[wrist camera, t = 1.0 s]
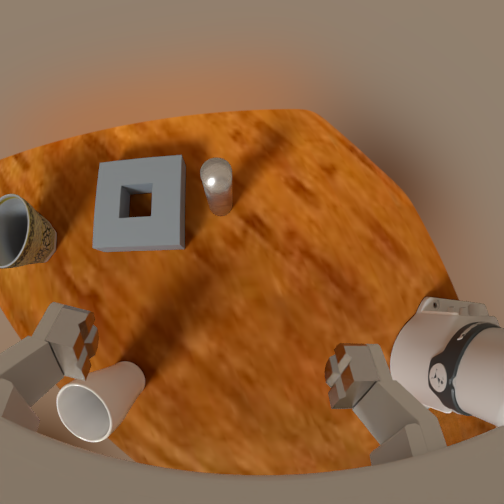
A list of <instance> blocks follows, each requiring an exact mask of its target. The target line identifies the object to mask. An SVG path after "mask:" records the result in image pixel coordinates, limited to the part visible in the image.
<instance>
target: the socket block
mask: <svg viewBox="0 0 504 504" xmlns="http://www.w3.org/2000/svg"><path fill="white" fill-rule="evenodd" d="M185 184H186V165H185V162H184V160H183V157H182V155H173V156H160V157H149V158H138V159H129V160H120V161H112V162H104V163H100V166H99V173H98V182H97V191H96V201H95V214H94V229H93V248H94V249H97V250H100V251H103V252H116V251H145V250H175V249H185ZM143 193H152V207H151V216H147V217H130V218H129V208H130V194H143Z"/></svg>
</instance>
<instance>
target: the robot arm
mask: <svg viewBox="0 0 504 504" xmlns="http://www.w3.org/2000/svg"><path fill="white" fill-rule="evenodd" d="M433 304H435V306H434V307H433ZM94 321H95V317H94V313H93V312H91V311H87V310H83V309H79V308H75V307H71V306H68V305H63V304H60V303H56V302H53V303H51V304H50V305H49V307H48V308H47V310H46V312H45V314H44V315H43V317H42V319H41V321H40V323H39V324H38V326H37V328H36V330H35V332H34V333H33V335H32V337H31V336H27V337H26V338H24V339H23V340H21V341H19V342H18V343H16V344H15V345H13V346H11V347H10V348H8V349H7V350H6V351H4V352H2V353H1V354H0V504H504V328H501V327H499V323H498V320H497V319H496V317H494V316H489V315H488V311H487V309H486V306H485V305H484V304H481V303H474V302H465V301H458V300H450V299H443V298H435V297H425V298H424V299H423V300H422V302H421V304H420V306H419V308H418V310H417V313H416V314H415V315H414V316H413V318H412V319H411V320H409V321H408V322H407V324H406V325H405V326H404V327H403V328H402V330H401V331H400V333H399V335H398V337H397V339H396V341H395V343H394V346H393V349H392V353H391V360H390V371H391V374H390V371H389V368H388V365H387V363H386V360H385V358H384V355H383V352H382V350H381V347H380V346H379V345H378V344H353V343H340V344H338V345H337V346H336V348H335V349H334V351H335V355H333V356H331V357H330V358H329V359H328V361H327V363H326V367H325V380H326V383H327V384H328V385H329V386H330V387H331V389H330V391H329V393H328V395H329V399H330V404H331V409H348V408H353V409H352V410H353V411H354V412H355V413H356V415H357V416H358V417H359V418H360V420H361V421H362V422H363V424H364V425H365V426H366V427H367V429H368V430H369V431H370V432H371V434H372V435H373V436H374V437H375V439H376V440H377V441H378V442H379V443H380V446H379V447H378V448H376V449H375V450H373V451H372V452H371V454H370V459H371V463H372V466H367V467H361V468H354V469H347V470H340V471H332V472H322V473H311V474H295V475H229V474H214V473H202V472H193V471H184V470H177V469H170V468H163V467H157V466H152V465H146V464H141V463H136V462H131V461H127V460H122V459H118V458H114V457H110V456H106V455H103V454H99V453H95V452H91V451H88V450H85V449H82V448H79V447H76V446H73V445H69V444H66V443H64V442H61V441H58V440H55V439H53V438H50V437H47V436H45V435H42V434H40V433H37V429H38V425H39V423H40V420H39V418H38V416H37V415H36V414H35V413H34V411H33V410H32V409H31V408H30V407H31V406H32V405H33V404H35V403H36V402H37V401H38V400H39V399H40V398H41V397H42V396H43V395H44V394H46V393H47V392H48V391H49V390H50V389H51V388H52V387H53V386H54V385H55V384H57V383H58V382H59V381H60V380H61V379H62V378H63V377H64V376H68V377H72V378H76V379H79V380H83V381H86V379H87V376H88V373H89V370H90V368H91V363H90V360H89V359H90V358H91V357H93V356H94V355H95V353H96V351H97V347H98V341H99V335H98V329H97V328H96V327H95V326H94V325H93V324H94ZM429 408H433V409H436V410H439V411H442V412H445V413H451V412H452V411H453V412H455V413H458V414H463V415H466V416H472V415H473V416H475V417H477V418H480V419H482V420H484V421H487V422H489V423H491V424H494V425H496V426H498V428H495V429H493V430H490V431H488V432H486V433H483V434H481V435H478V436H476V437H473V438H470V439H468V440H465V441H462V442H460V443H457V444H454V445H451V446H448V447H447V446H446V442H445V439H444V436H443V434H442V431H441V428H440V425H439V422H438V419H437V417H436V416H434V415H433V414H432V413H431V412H430V411H429V410H428V409H429Z"/></svg>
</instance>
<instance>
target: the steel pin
mask: <svg viewBox="0 0 504 504" xmlns="http://www.w3.org/2000/svg"><path fill="white" fill-rule="evenodd" d="M200 176H201V179H202V183H203V186H204V190H205V193H206V197H207V200H208V204H209V207H210V210H211V211H212V213H213V214H215V215H217V216H224V215H227V214H228V213H229V212H230V211H231V209H232V206H233V201H232V169H231V166H230V164H229V163H228V162H227V161H226V160H224V159H222V158H211V159H209V160H207V161H206V162H205V163H204V164H203V165H202V167H201V170H200Z"/></svg>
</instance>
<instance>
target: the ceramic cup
mask: <svg viewBox="0 0 504 504" xmlns="http://www.w3.org/2000/svg"><path fill="white" fill-rule="evenodd" d="M56 240H57V233H56V231H55V230H54V228H53V227H52V225H51V224H50V223H49V221H48V220H47V219H45V218H44V217H43V216H42V215H41V214H39V213H38V212H37V211H36V210H35V209H34V208H33V207H32V206H31V205H30V204H29V203H28V202H27V201H26V200H24V199H23V198H21V197H20V196H18V195H16V194H7V195H5V196H3V197H1V198H0V268H2V269H3V268H13V267H19V266H23V265H27V264H34V263H43V262H47V261H48V260H49V259H50V257H51V256H52V255H53V253H54V252H55V251H56Z"/></svg>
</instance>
